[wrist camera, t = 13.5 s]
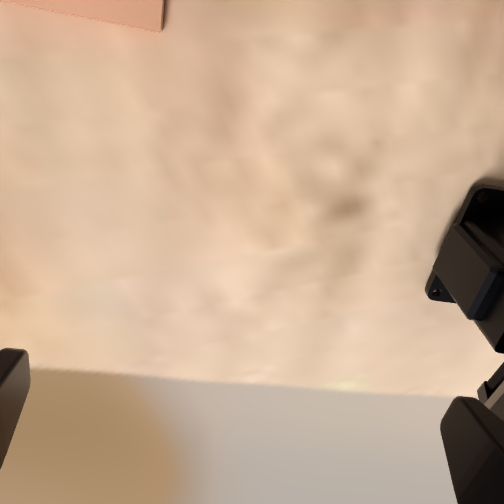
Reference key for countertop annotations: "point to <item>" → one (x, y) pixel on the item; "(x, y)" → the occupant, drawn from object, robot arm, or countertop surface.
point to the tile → (107, 11)
